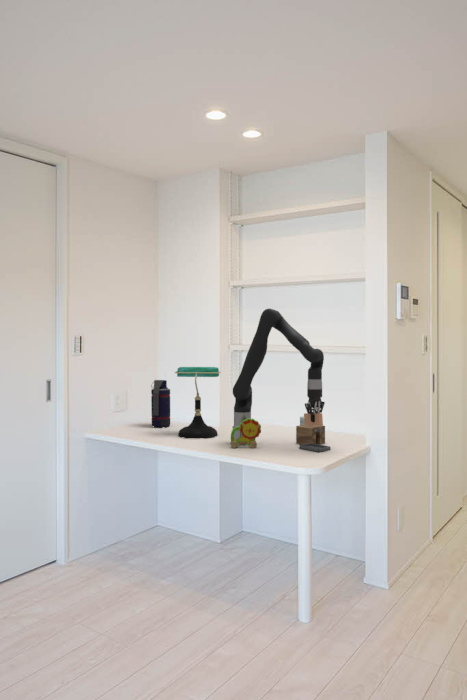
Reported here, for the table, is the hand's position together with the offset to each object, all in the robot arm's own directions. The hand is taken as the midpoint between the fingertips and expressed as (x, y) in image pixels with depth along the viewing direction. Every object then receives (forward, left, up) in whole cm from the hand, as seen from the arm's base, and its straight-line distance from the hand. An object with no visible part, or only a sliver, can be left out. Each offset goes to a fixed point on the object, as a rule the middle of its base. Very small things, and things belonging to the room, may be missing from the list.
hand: (314, 421), depth 293 cm
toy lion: (-22, +28, -15) cm, 38 cm away
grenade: (-16, +114, -14) cm, 116 cm away
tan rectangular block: (0, +1, -2) cm, 2 cm away
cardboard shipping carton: (+11, +12, -14) cm, 22 cm away
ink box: (+24, +24, -15) cm, 37 cm away
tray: (0, 0, -14) cm, 14 cm away
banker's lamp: (-18, +73, -14) cm, 77 cm away
